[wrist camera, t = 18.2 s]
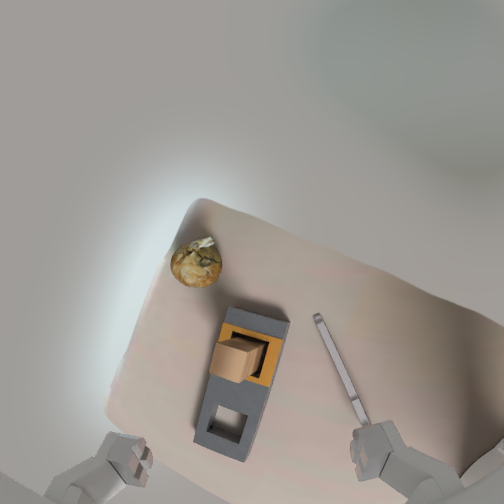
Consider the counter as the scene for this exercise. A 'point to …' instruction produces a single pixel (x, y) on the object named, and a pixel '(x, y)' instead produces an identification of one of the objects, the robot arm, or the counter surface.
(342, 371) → the caliper
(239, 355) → the peg
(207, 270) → the onion
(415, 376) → the counter surface
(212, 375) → the rail
